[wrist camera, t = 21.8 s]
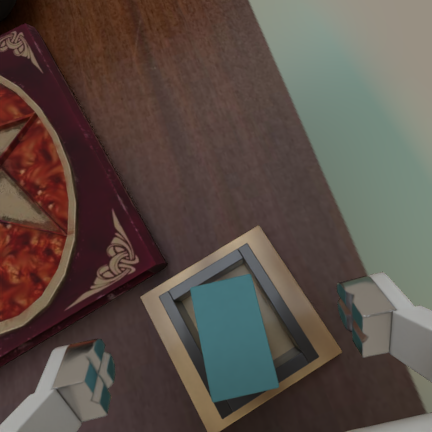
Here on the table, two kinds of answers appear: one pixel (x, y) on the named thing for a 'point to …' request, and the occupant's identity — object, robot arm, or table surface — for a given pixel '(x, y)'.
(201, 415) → the beige square frame
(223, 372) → the teal rectangular block
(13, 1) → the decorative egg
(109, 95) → the table surface
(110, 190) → the book
